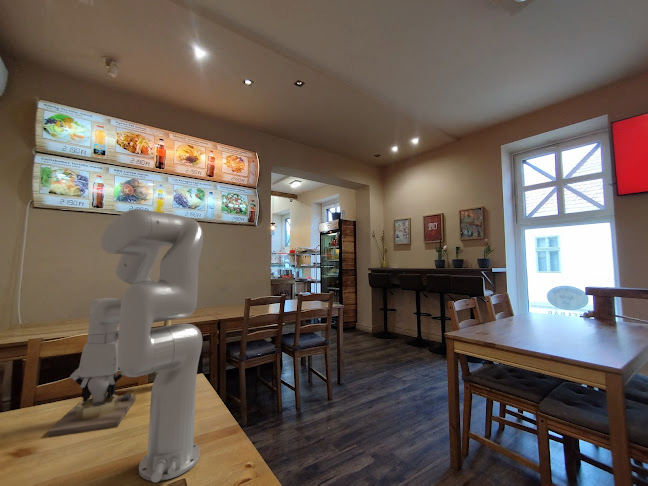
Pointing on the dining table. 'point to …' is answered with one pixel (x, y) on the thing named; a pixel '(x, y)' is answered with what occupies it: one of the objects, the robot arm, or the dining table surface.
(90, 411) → the holder ring
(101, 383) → the lightbulb
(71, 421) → the lamp base
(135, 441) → the dining table surface
